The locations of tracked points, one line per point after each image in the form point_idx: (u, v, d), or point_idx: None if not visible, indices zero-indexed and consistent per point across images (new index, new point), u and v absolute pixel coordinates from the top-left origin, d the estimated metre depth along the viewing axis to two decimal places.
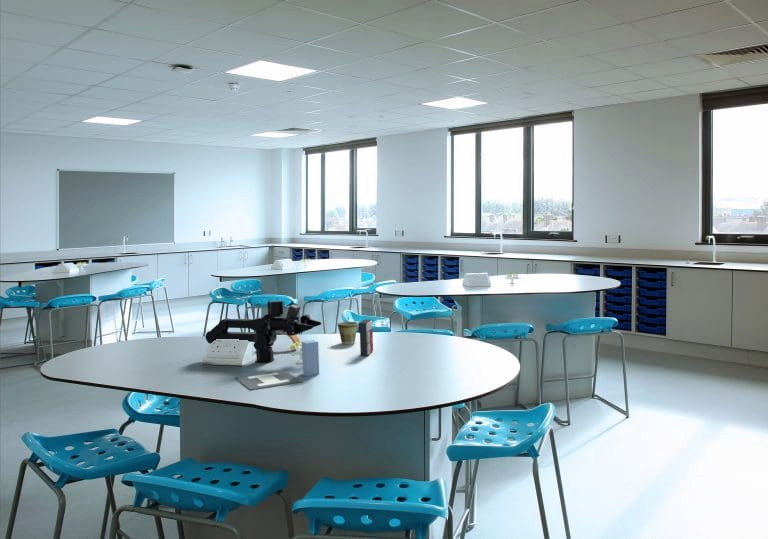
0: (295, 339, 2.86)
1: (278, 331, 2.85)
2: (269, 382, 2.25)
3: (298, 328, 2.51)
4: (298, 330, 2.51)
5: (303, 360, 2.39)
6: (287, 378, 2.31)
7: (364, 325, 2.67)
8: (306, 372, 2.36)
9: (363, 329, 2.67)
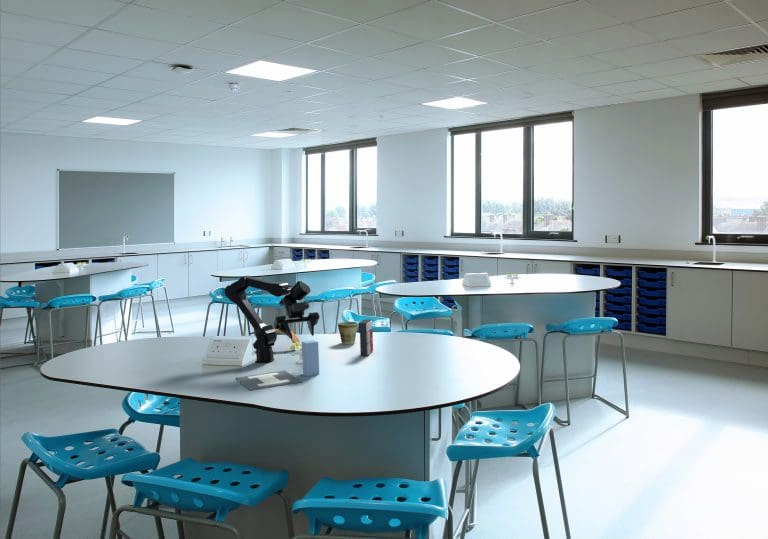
0: (295, 339, 2.86)
1: (278, 331, 2.86)
2: (269, 382, 2.25)
3: (284, 327, 2.46)
4: (283, 329, 2.46)
5: (303, 360, 2.39)
6: (287, 378, 2.31)
7: (364, 325, 2.67)
8: (306, 372, 2.36)
9: (363, 329, 2.67)
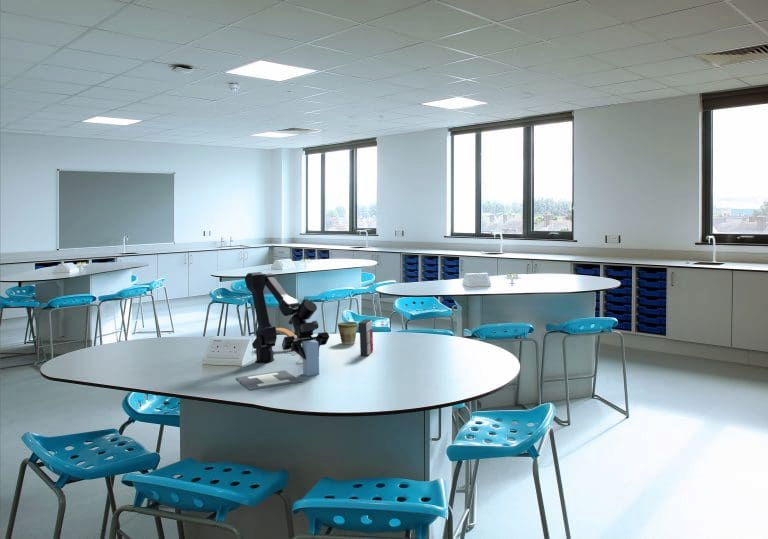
0: None
1: (277, 331, 2.86)
2: (269, 382, 2.25)
3: (297, 347, 2.39)
4: (296, 349, 2.39)
5: (303, 360, 2.39)
6: (287, 378, 2.31)
7: (364, 325, 2.67)
8: (306, 372, 2.36)
9: (363, 329, 2.67)
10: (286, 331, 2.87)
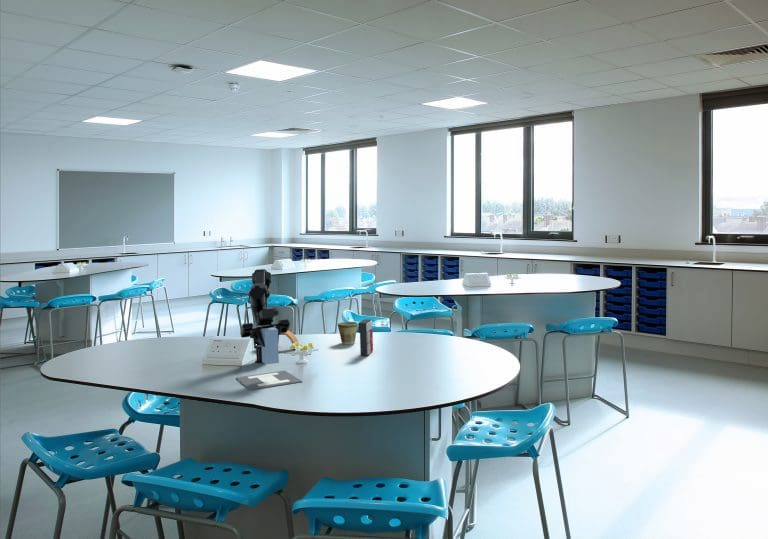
0: (293, 339, 2.87)
1: None
2: (269, 382, 2.25)
3: (257, 335, 2.31)
4: (255, 336, 2.31)
5: (262, 348, 2.30)
6: (287, 378, 2.31)
7: (364, 325, 2.67)
8: (265, 361, 2.28)
9: (363, 329, 2.67)
10: None
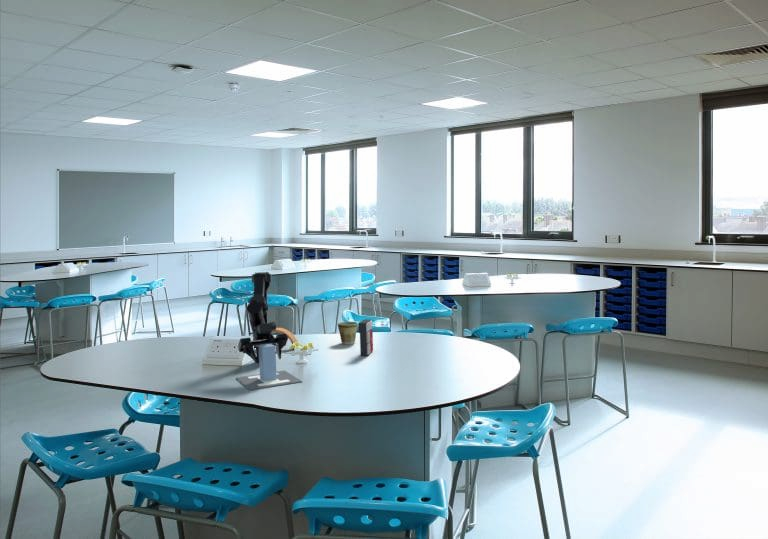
0: (293, 338, 2.88)
1: (276, 331, 2.86)
2: (269, 382, 2.25)
3: (249, 350, 2.30)
4: (248, 352, 2.30)
5: (260, 365, 2.30)
6: (287, 378, 2.31)
7: (364, 325, 2.67)
8: (263, 378, 2.28)
9: (363, 329, 2.67)
10: (285, 331, 2.88)
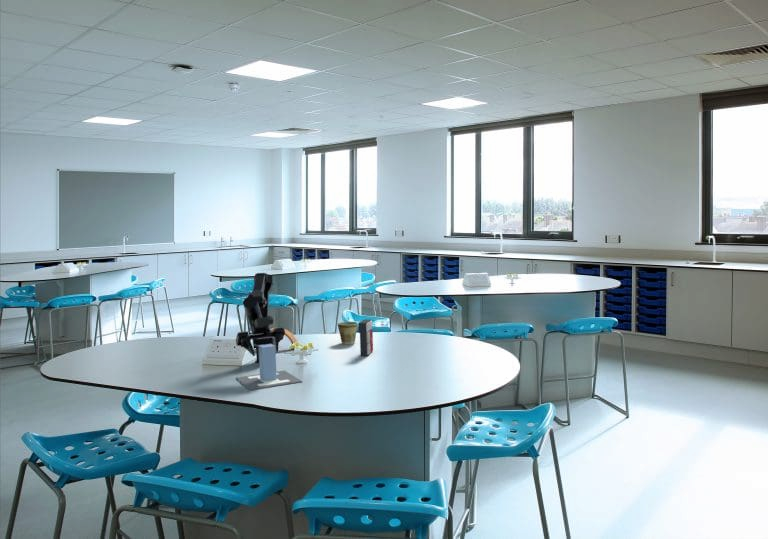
0: (292, 338, 2.88)
1: None
2: (269, 382, 2.25)
3: (247, 344, 2.33)
4: (246, 345, 2.33)
5: (260, 365, 2.30)
6: (287, 378, 2.31)
7: (364, 325, 2.67)
8: (263, 378, 2.28)
9: (363, 329, 2.67)
10: None
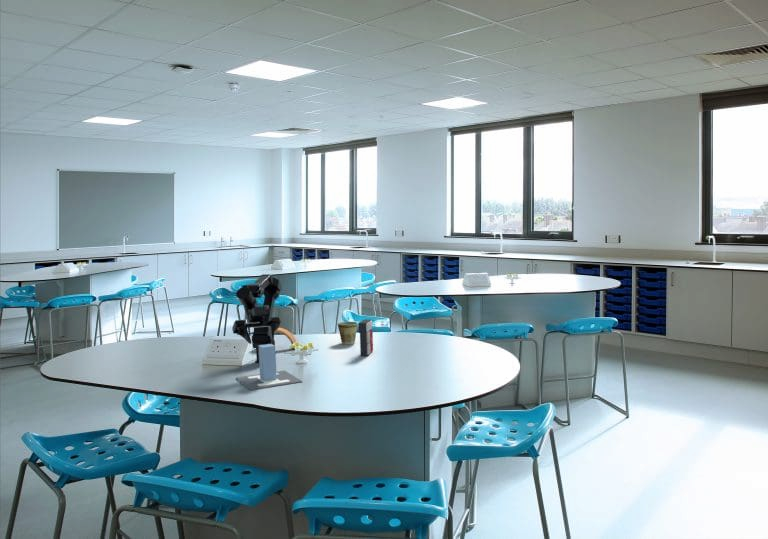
0: (292, 338, 2.88)
1: (275, 331, 2.87)
2: (269, 382, 2.25)
3: (243, 332, 2.38)
4: (242, 333, 2.38)
5: (260, 365, 2.30)
6: (287, 378, 2.31)
7: (364, 325, 2.67)
8: (263, 378, 2.28)
9: (363, 329, 2.67)
10: (284, 331, 2.89)
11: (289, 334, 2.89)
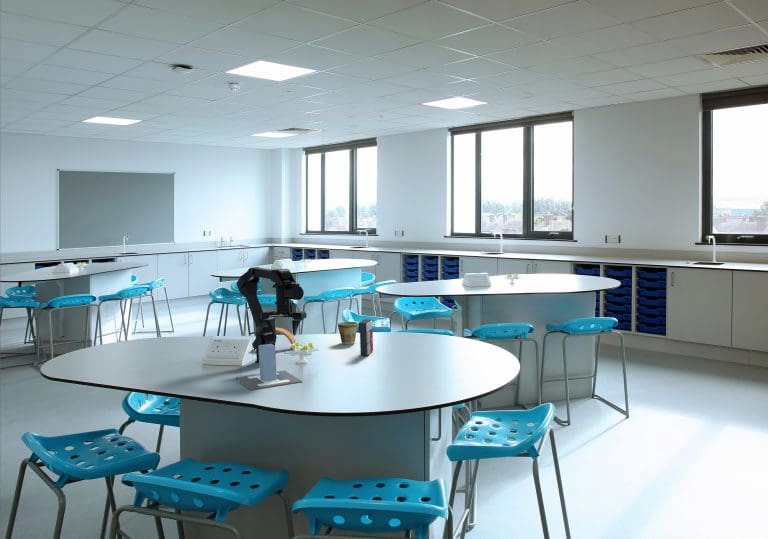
0: (291, 338, 2.89)
1: None
2: (269, 382, 2.25)
3: None
4: None
5: (260, 365, 2.30)
6: (287, 378, 2.31)
7: (364, 325, 2.67)
8: (263, 378, 2.28)
9: (363, 329, 2.67)
10: (283, 330, 2.89)
11: (288, 334, 2.89)
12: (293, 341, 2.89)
